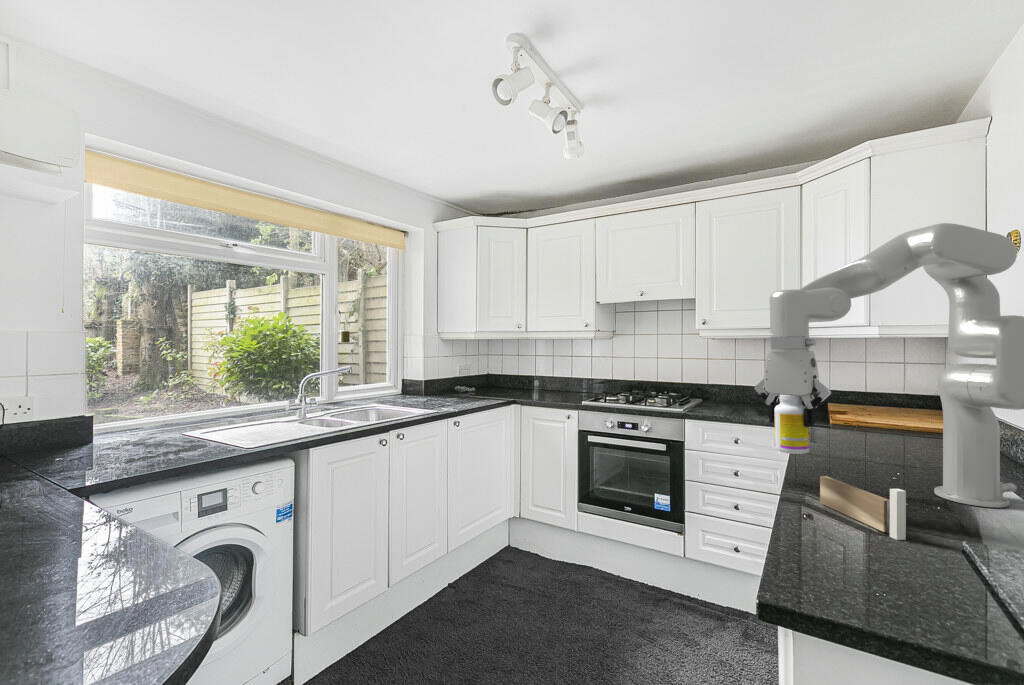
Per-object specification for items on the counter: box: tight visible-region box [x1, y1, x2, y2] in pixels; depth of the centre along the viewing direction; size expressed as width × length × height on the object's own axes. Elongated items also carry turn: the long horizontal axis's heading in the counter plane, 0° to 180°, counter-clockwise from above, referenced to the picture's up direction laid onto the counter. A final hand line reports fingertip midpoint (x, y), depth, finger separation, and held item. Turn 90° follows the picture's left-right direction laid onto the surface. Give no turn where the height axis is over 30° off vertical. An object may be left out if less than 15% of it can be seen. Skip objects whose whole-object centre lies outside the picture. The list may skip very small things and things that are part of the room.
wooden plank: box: [819, 475, 890, 535], centre depth 98 cm, size 2×18×6 cm, turn 5°
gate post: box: [889, 488, 907, 541], centre depth 88 cm, size 2×2×9 cm
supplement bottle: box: [774, 394, 810, 455], centre depth 107 cm, size 7×7×13 cm
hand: (791, 423), depth 107 cm, fingers closed on supplement bottle, 6 cm apart
